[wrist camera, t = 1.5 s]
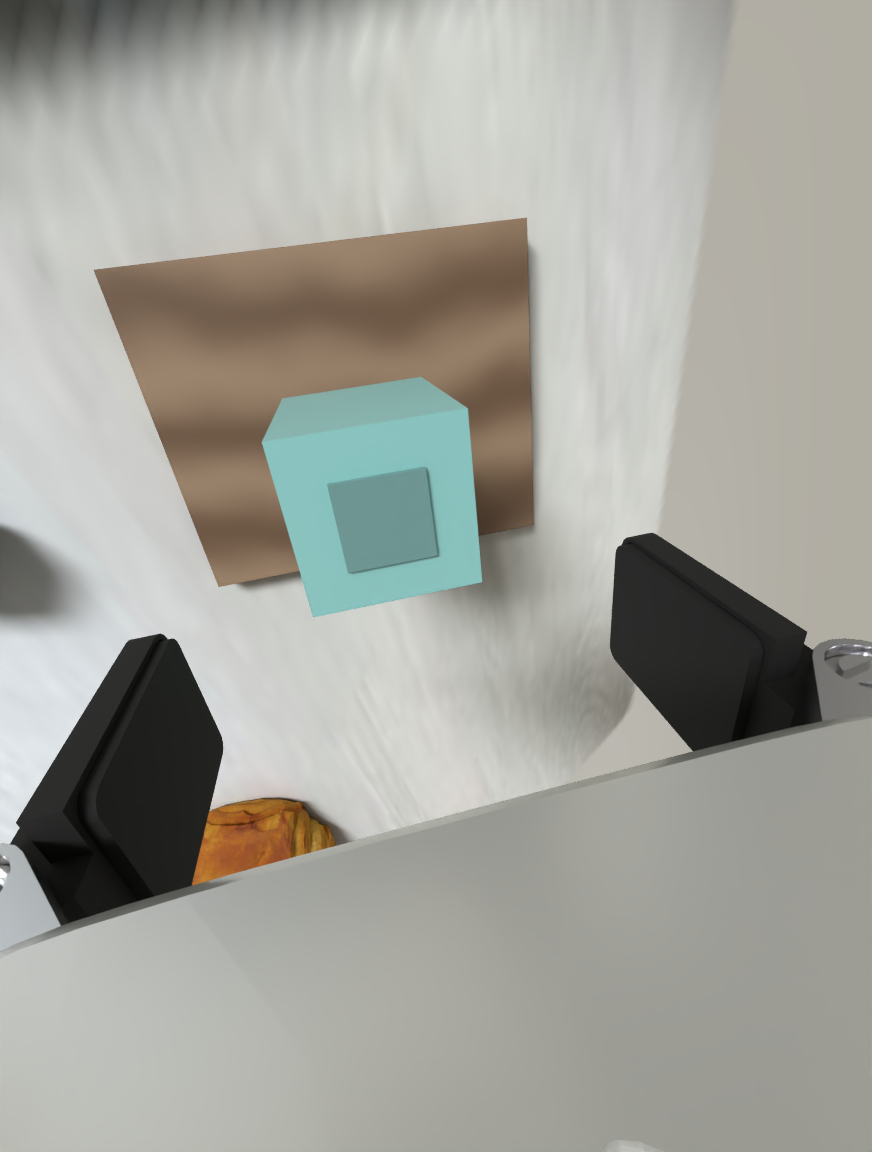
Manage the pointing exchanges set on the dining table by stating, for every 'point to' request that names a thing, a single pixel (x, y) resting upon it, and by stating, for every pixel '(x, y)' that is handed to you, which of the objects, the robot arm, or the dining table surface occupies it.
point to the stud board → (326, 363)
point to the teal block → (376, 492)
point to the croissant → (257, 837)
